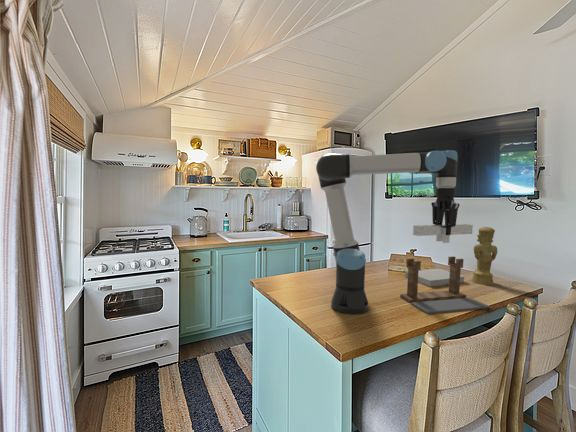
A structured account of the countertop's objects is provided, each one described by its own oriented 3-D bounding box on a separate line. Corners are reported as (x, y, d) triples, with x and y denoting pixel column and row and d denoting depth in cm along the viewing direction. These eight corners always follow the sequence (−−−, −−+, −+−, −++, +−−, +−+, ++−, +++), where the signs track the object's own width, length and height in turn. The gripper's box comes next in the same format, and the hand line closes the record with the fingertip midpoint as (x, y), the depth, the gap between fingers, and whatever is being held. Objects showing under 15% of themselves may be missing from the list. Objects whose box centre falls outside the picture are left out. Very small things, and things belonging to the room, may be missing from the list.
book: (465, 276, 155) (430, 280, 147) (464, 283, 155) (430, 288, 147) (437, 267, 172) (404, 271, 164) (437, 274, 172) (404, 277, 164)
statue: (490, 280, 159) (494, 226, 157) (498, 285, 150) (502, 228, 148) (467, 278, 162) (471, 225, 160) (474, 283, 153) (477, 227, 150)
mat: (427, 314, 114) (427, 312, 114) (411, 304, 124) (411, 302, 124) (489, 308, 121) (489, 306, 121) (469, 299, 131) (469, 297, 131)
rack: (409, 303, 126) (411, 262, 124) (400, 297, 132) (401, 258, 131) (466, 298, 132) (468, 259, 130) (454, 292, 139) (456, 255, 137)
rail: (417, 235, 121) (418, 226, 121) (413, 234, 124) (413, 225, 124) (472, 233, 128) (472, 224, 128) (466, 233, 131) (467, 224, 130)
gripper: (468, 187, 117) (465, 244, 119) (438, 187, 133) (436, 238, 135) (453, 187, 115) (450, 245, 117) (425, 187, 131) (422, 239, 133)
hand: (442, 241), depth 126 cm, fingers closed on rail, 3 cm apart
